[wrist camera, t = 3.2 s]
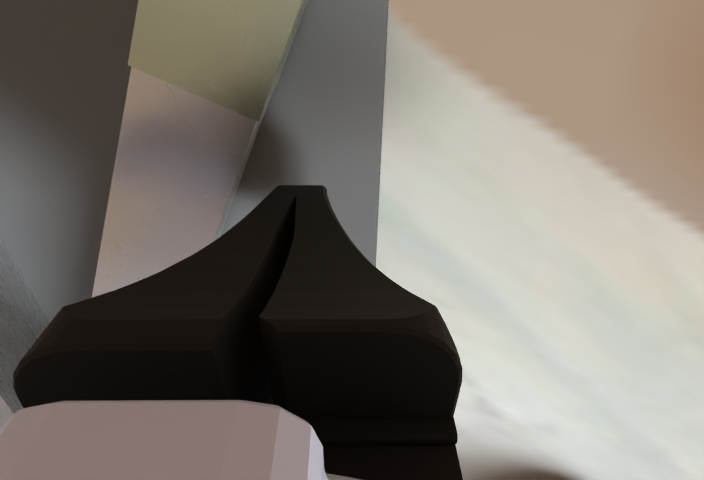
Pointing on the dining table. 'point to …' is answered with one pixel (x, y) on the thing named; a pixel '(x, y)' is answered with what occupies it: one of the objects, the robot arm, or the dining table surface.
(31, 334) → the fixed arm
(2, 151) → the mat
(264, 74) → the hinged arm
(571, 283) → the dining table surface
